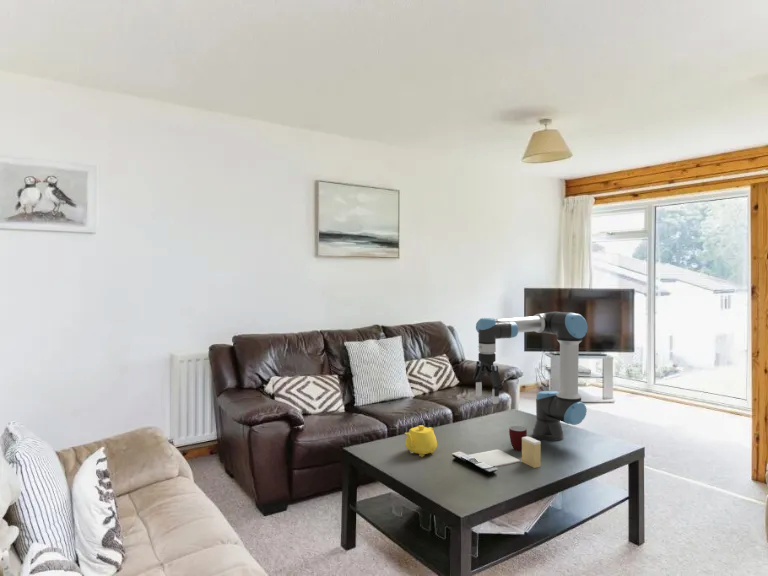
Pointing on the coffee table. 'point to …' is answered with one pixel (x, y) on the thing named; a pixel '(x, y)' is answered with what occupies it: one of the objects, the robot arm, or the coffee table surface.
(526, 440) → the slab
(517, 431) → the mug
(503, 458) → the mat
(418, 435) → the teapot
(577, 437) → the coffee table surface
